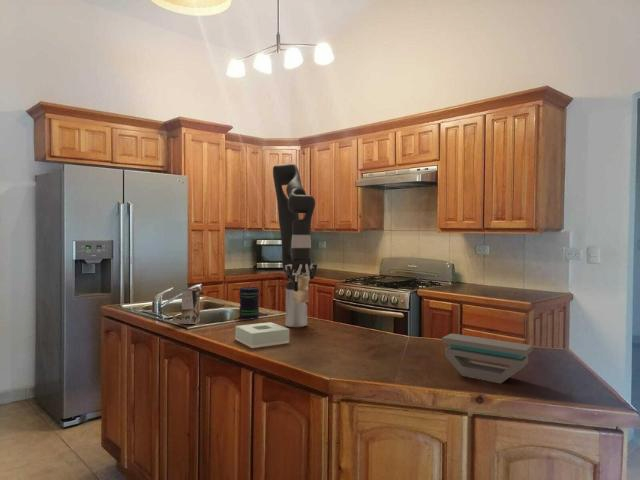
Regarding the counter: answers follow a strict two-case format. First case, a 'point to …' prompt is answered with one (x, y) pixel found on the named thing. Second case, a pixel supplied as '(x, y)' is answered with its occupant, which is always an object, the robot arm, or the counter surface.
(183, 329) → the counter surface
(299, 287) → the peg
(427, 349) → the counter surface
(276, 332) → the socket block
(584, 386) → the counter surface
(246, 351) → the counter surface
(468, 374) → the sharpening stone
